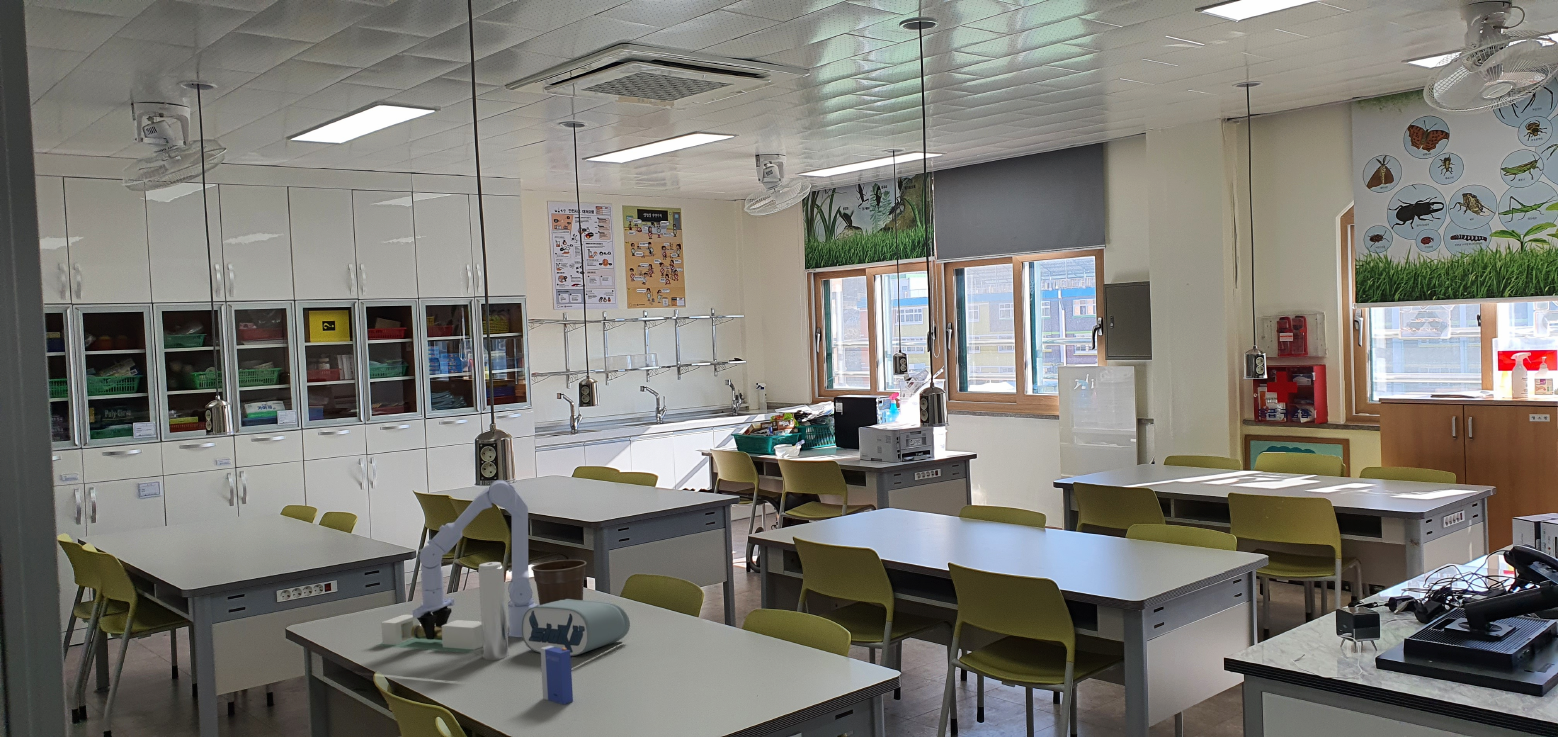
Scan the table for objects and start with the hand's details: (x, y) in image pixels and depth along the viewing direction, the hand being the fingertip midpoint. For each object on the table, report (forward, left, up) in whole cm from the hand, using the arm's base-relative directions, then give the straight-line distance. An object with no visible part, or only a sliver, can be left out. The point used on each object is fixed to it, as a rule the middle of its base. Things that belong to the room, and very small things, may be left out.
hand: (435, 637), depth 304 cm
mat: (0, 0, -2) cm, 2 cm away
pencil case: (-42, -7, -2) cm, 43 cm away
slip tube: (-3, 0, -1) cm, 4 cm away
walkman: (-63, +32, -2) cm, 71 cm away
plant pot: (-18, -34, -2) cm, 39 cm away
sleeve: (-10, 0, -2) cm, 10 cm away
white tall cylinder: (-26, +7, -2) cm, 27 cm away
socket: (+12, 0, -2) cm, 13 cm away
